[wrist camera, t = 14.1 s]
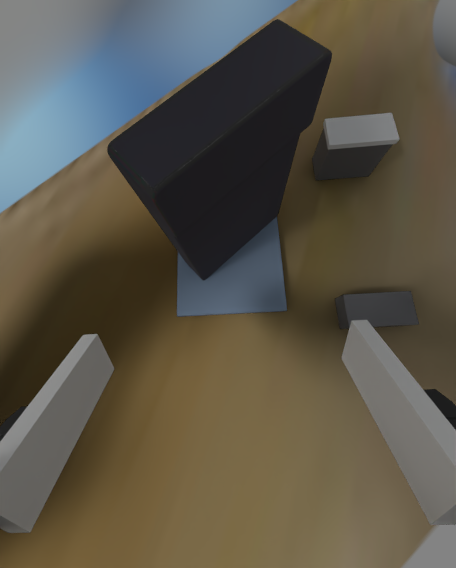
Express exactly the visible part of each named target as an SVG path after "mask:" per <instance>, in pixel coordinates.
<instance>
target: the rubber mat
mask: <svg viewBox="0 0 456 568" xmlns="http://www.w3.org/2000/svg"><path fill="white" fill-rule="evenodd" d="M278 311H287V305H286V296H285V287H284V277H283V268H282V259H281V250H280V240H279V231H278V222H277V217H276V218H275V219H273V220H272V221H271V222H270V223H269V224H268V225H267V226H266V227H264V228H263V229H262V230H261V231H260V232H259V233H258V234H257V235H255V236H254V237H253V238H252V239H251V240H250V241H249V242H248V243H246V244H245V245H244V246H243V247H242V248H241V249H240V250H239V251H237V252H236V253H235V254H234V255H233V256H232V257H231V258H230V259H228V260H227V261H226V262H225V263H224V264H223V265H222V266H221V267H219V268H218V269H217V270H216V271H215V272H214V273H213V274H212V275H210V276H209V277H208V278H207V279H206V280H202V279H201V278H200V277H199V276H198V275H197V274H196V273H195V272H194V271H193V270H192V269H191V268H190V266H189V265H188V264H187V263H186V262H185V261H184V259H183V258H182V257H181V255H180V254H179V252H178V279H177V316H178V317H180V316H199V315H219V314H239V313H258V312H278Z"/></svg>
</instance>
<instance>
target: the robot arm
mask: <svg viewBox="0 0 456 568" xmlns="http://www.w3.org/2000/svg"><path fill="white" fill-rule="evenodd" d="M341 359H342V360H343V362H344V364H345V366H346V368H347V370H348V372H349V373H350V375H351V377H352V379H353V381H354V383H355V385H356V387H357V388H358V390H359V392H360V394H361V396H362V398H363V400H364V401H365V403H366V405H367V407H368V409H369V411H370V413H371V415H372V416H373V418H374V420H375V422H376V424H377V426H378V428H379V429H380V431H381V433H382V435H383V437H384V439H385V441H386V443H387V444H388V446H389V448H390V450H391V452H392V454H393V456H394V458H395V459H396V461H397V463H398V465H399V467H400V469H401V471H402V472H403V474H404V476H405V478H406V480H407V482H408V484H409V486H410V487H411V489H412V491H413V493H414V495H415V497H416V499H417V500H418V502H419V504H420V506H421V508H422V510H423V512H424V514H425V515H426V517H427V519H428V521H429V523H430V525H445V524H446V525H447V524H448V525H449V524H456V406H455V405H454V404H453V402H452V401H450V400H449V399H448V398H446V397H445V396H444V395H442V394H441V393H440V392H438V391H437V390H436V389H429V390H423V389H422V388H421V386H420V385H419V384H418V383H417V381H416V380H415V379H414V378H413V376H412V375H411V374H410V373H409V371H408V370H407V369H406V368H405V366H404V365H403V364H402V363H401V362H400V360H399V359H398V358H397V357H396V355H395V354H394V353H393V352H392V350H391V349H390V348H389V347H388V345H387V344H386V343H385V342H384V340H383V339H382V338H381V337H380V335H379V334H378V333H377V332H376V330H375V329H374V328H373V327H372V325H371V324H370V323H369V322H368V320H352V321H351V324H350V328H349V331H348V335H347V339H346V343H345V346H344V350H343V354H342V358H341ZM113 371H114V367H113V365H112V363H111V361H110V359H109V356H108V354H107V352H106V350H105V348H104V346H103V344H102V342H101V340H100V338H99V336H98V334H87V335H83V336H82V337H81V338H80V340H79V341H78V342H77V343H76V345H75V346H74V347H73V349H72V350H71V351H70V352H69V354H68V355H67V356H66V358H65V359H64V360H63V361H62V363H61V364H60V365H59V367H58V368H57V369H56V370H55V372H54V373H53V374H52V376H51V377H50V378H49V379H48V381H47V382H46V383H45V385H44V386H43V387H42V388H41V390H40V391H39V392H38V394H37V395H36V396H35V398H34V399H33V400H32V401H31V403H30V404H29V405H28V407H20V408H19V409H18V410H17V411H16V412H15V413H13V414H12V415H11V416H10V417H9V418H8V419H6V421H5V422H4V423H3V424H2V425H1V427H0V529H2V530H4V531H6V532H8V533H29V532H31V530H32V528H33V526H34V524H35V522H36V520H37V518H38V516H39V515H40V513H41V511H42V509H43V507H44V505H45V503H46V501H47V499H48V497H49V495H50V493H51V491H52V489H53V487H54V485H55V483H56V481H57V480H58V478H59V476H60V474H61V472H62V470H63V468H64V466H65V464H66V462H67V460H68V458H69V456H70V454H71V452H72V450H73V448H74V447H75V445H76V443H77V441H78V439H79V437H80V435H81V433H82V431H83V429H84V427H85V425H86V423H87V421H88V419H89V417H90V415H91V413H92V412H93V410H94V408H95V406H96V404H97V402H98V400H99V398H100V396H101V394H102V392H103V390H104V388H105V386H106V384H107V382H108V380H109V379H110V377H111V375H112V373H113Z"/></svg>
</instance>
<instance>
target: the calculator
mask: <svg viewBox="0 0 456 568" xmlns="http://www.w3.org/2000/svg"><path fill="white" fill-rule="evenodd" d="M331 58H332V53H331V51H330V50H328V49H327V48H325V47H324V46H322V45H320V44H319V43H317V42H315V41H314V40H312V39H310V38H309V37H307V36H305V35H304V34H302V33H300V32H299V31H297V30H296V29H294V28H292V27H291V26H289V25H287V24H286V23H284V22H282V21H281V20H278V19H277V20H275V21H273V22H271V23H270V24H269V25H267V26H266V27H265V28H263V29H262V30H261V31H259V32H258V33H257V34H255V35H254V36H253V37H251V38H250V39H248V40H247V41H246V42H244V43H243V44H242V45H240V46H239V47H238V48H236V49H235V50H234V51H232V52H231V53H230V54H228V55H227V56H226V57H224V58H223V59H221V60H220V61H219V62H217V63H216V64H215V65H213V66H212V67H211V68H209V69H208V70H207V71H205V72H204V73H203V74H201V75H200V76H199V77H197V78H196V79H194V80H193V81H192V82H190V83H189V84H188V85H186V86H185V87H184V88H182V89H181V90H180V91H178V92H177V93H176V94H174V95H173V96H171V97H170V98H169V99H167V100H166V101H165V102H163V103H162V104H161V105H159V106H158V107H157V108H155V109H154V110H153V111H151V112H150V113H149V114H147V115H146V116H144V117H143V118H142V119H140V120H139V121H138V122H136V123H135V124H134V125H132V126H131V127H130V128H128V129H127V130H126V131H124V132H123V133H122V134H120V135H119V136H117V137H116V138H115V139H114V140H112V141H111V142H110V143H109V145H108V149H107V150H108V154H109V156H110V158H111V159H112V161H113V162H114V163H115V165H116V166H117V168H118V169H119V170H120V172H121V173H122V175H123V176H124V177H125V179H126V180H127V182H128V183H129V184H130V186H131V187H132V188H133V190H134V191H135V193H136V194H137V195H138V197H139V198H140V200H141V201H142V202H143V204H144V205H145V207H146V208H147V209H148V211H149V212H150V213H151V215H152V216H153V218H154V219H155V220H156V222H157V223H158V225H159V226H160V227H161V229H162V230H163V232H164V233H165V234H166V236H167V237H168V238H169V240H170V241H171V243H172V244H173V245H174V247H175V248H176V250H177V251H178V252H179V254H180V255H181V257H182V258H183V259H184V261H185V262H186V263H187V264H188V265H189V266H190V268H191V269H192V270H193V271H194V272H195V273H196V274H197V275H198V276H199V277H200V278H201V279H202V280H206V279H207V278H208V277H209V276H210V275H212V274H213V273H214V272H215V271H216V270H217V269H218V268H219V267H221V266H222V265H223V264H224V263H225V262H226V261H227V260H228V259H230V258H231V257H232V256H233V255H234V254H235V253H236V252H237V251H239V250H240V249H241V248H242V247H243V246H244V245H245V244H246V243H248V242H249V241H250V240H251V239H252V238H253V237H254V236H255V235H257V234H258V233H259V232H260V231H261V230H262V229H263V228H264V227H266V226H267V225H268V224H269V223H270V222H271V221H272V220H273V219H275V218H276V217H277V215H278V213H279V209H280V205H281V202H282V198H283V194H284V191H285V187H286V183H287V180H288V176H289V172H290V169H291V165H292V161H293V157H294V154H295V150H296V146H297V143H298V139H299V136H300V133H301V132H302V131H303V130H305V129H306V128H307V127H308V126H309V125H310V124H311V123H312V120H313V117H314V114H315V110H316V107H317V104H318V101H319V98H320V94H321V91H322V88H323V85H324V82H325V78H326V75H327V72H328V69H329V65H330V62H331Z"/></svg>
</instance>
